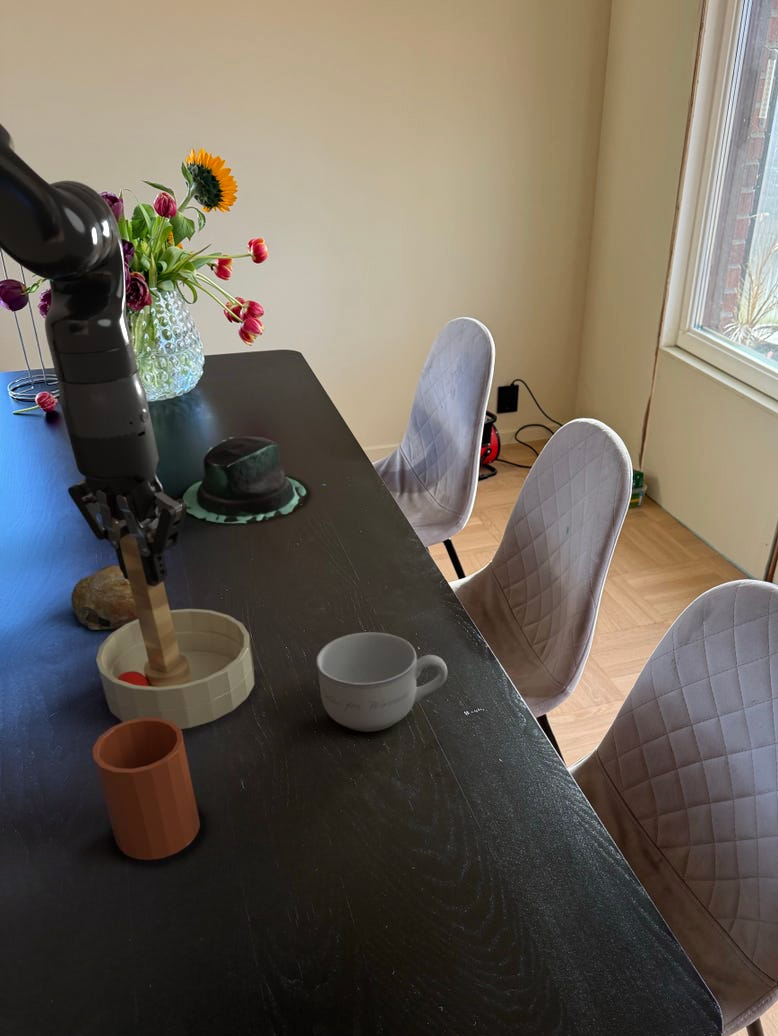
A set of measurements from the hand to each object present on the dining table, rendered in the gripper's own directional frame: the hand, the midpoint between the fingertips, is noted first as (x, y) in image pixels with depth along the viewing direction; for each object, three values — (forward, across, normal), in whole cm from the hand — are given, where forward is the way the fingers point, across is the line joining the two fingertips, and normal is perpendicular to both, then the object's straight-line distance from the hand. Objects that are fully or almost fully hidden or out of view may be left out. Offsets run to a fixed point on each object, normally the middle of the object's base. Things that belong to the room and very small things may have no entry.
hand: (145, 579), depth 93 cm
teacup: (+16, +24, +7) cm, 29 cm away
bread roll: (+15, -18, +11) cm, 26 cm away
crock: (+15, +14, -18) cm, 27 cm away
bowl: (+15, +1, +1) cm, 15 cm away
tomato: (+12, -2, -4) cm, 13 cm away
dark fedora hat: (+15, -25, +48) cm, 56 cm away
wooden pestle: (+13, 0, 0) cm, 13 cm away
